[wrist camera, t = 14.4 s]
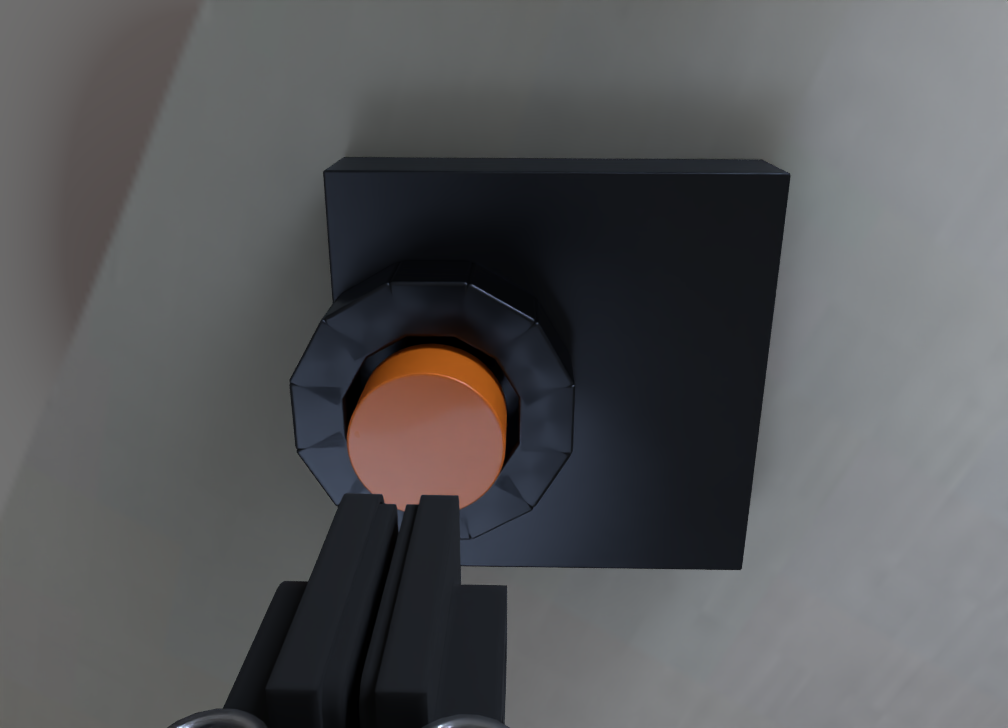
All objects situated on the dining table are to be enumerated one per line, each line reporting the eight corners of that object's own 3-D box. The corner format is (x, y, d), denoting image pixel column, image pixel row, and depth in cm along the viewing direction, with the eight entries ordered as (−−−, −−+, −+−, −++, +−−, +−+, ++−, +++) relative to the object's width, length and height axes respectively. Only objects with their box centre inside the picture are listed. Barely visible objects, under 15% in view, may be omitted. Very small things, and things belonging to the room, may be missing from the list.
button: (365, 474, 19) (351, 515, 18) (357, 341, 18) (341, 371, 16) (506, 476, 19) (505, 517, 17) (507, 343, 18) (506, 373, 16)
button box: (343, 519, 24) (309, 609, 20) (315, 156, 20) (268, 183, 16) (723, 524, 24) (760, 616, 20) (763, 159, 20) (819, 186, 16)
